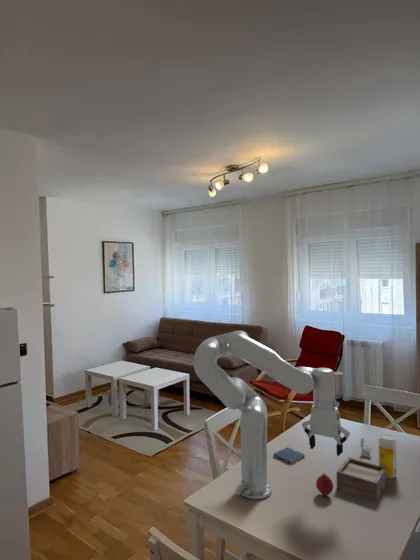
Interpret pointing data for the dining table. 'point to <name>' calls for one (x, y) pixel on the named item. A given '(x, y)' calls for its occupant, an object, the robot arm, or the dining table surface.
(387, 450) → the beer can
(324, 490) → the pomegranate
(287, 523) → the dining table surface
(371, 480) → the walnut tray
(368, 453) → the architectural model
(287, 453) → the woven mat
